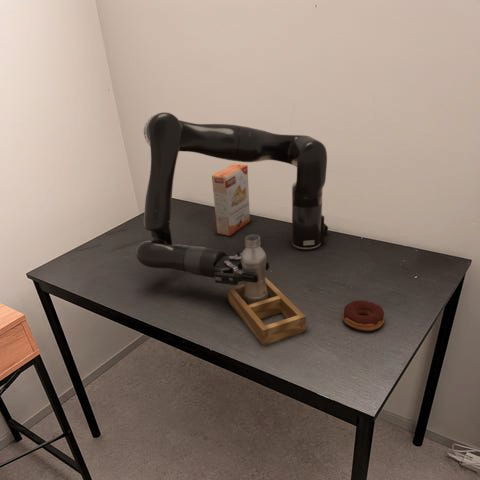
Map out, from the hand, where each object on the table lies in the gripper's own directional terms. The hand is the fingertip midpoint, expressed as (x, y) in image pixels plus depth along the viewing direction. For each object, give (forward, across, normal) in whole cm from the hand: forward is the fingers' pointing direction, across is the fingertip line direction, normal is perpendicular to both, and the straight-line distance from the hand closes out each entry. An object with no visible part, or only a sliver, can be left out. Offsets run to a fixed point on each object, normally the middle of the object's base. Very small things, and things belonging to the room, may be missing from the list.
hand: (263, 272), depth 113 cm
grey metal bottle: (-2, 0, +11) cm, 11 cm away
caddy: (+1, -3, +11) cm, 12 cm away
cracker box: (-31, +44, +11) cm, 55 cm away
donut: (+25, +3, +11) cm, 28 cm away
